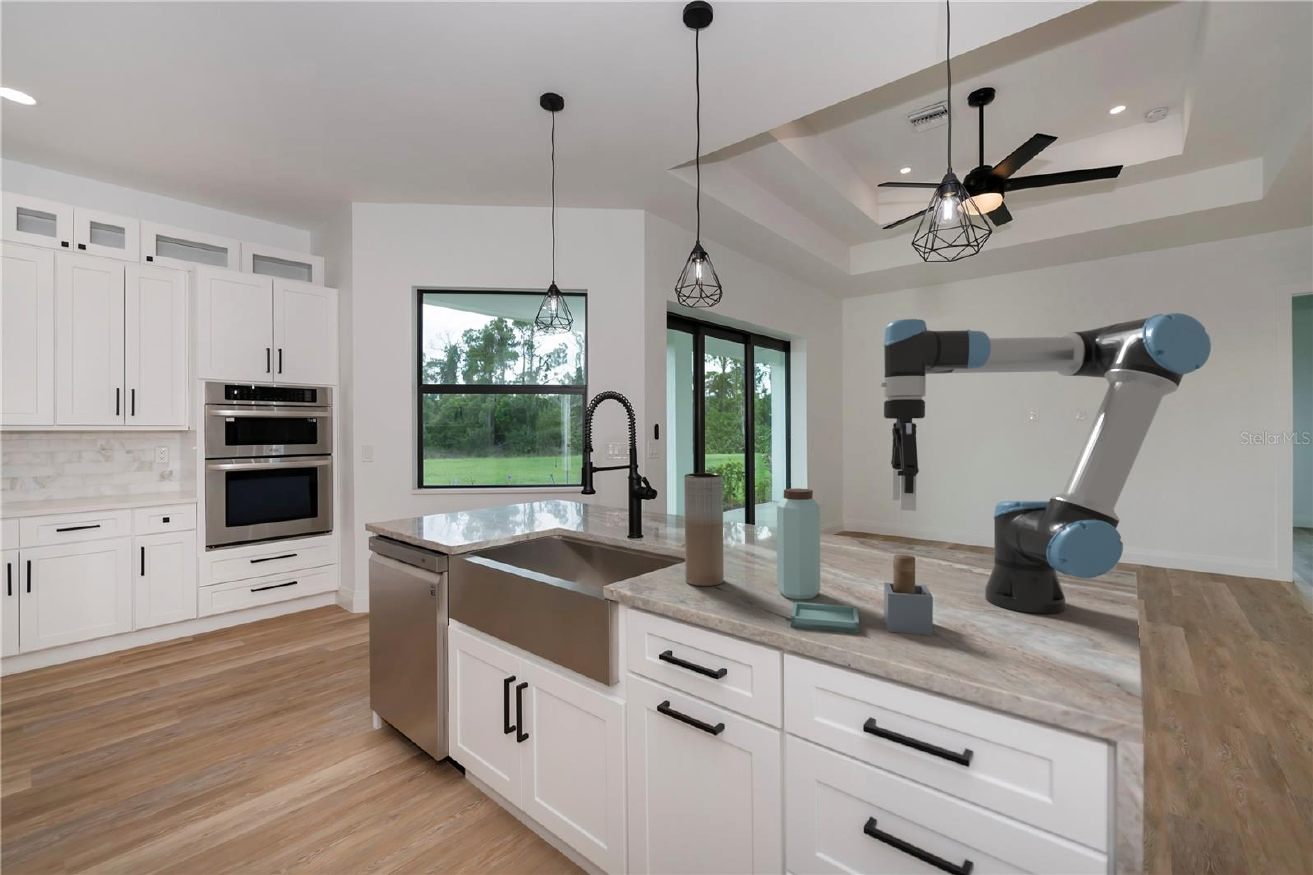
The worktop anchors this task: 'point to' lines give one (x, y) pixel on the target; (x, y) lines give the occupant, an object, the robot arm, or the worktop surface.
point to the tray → (825, 617)
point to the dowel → (904, 574)
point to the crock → (908, 610)
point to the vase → (704, 529)
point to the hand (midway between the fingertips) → (903, 505)
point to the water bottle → (798, 544)
